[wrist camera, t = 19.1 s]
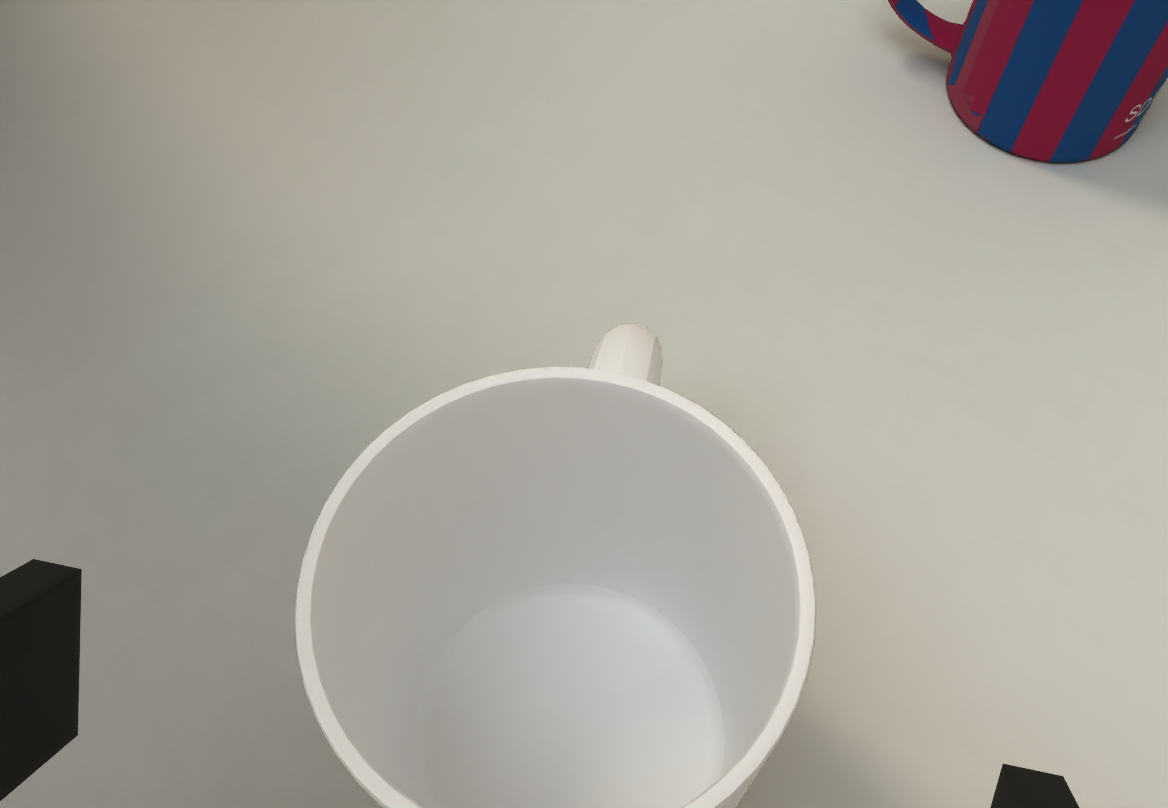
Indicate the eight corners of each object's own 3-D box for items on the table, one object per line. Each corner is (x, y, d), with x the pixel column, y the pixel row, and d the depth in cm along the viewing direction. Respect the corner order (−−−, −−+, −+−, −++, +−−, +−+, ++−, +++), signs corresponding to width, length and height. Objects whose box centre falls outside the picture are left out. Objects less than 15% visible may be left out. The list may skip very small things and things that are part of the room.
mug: (495, 432, 30) (453, 179, 21) (780, 491, 28) (864, 252, 20) (350, 873, 24) (205, 783, 15) (706, 969, 22) (779, 934, 14)
